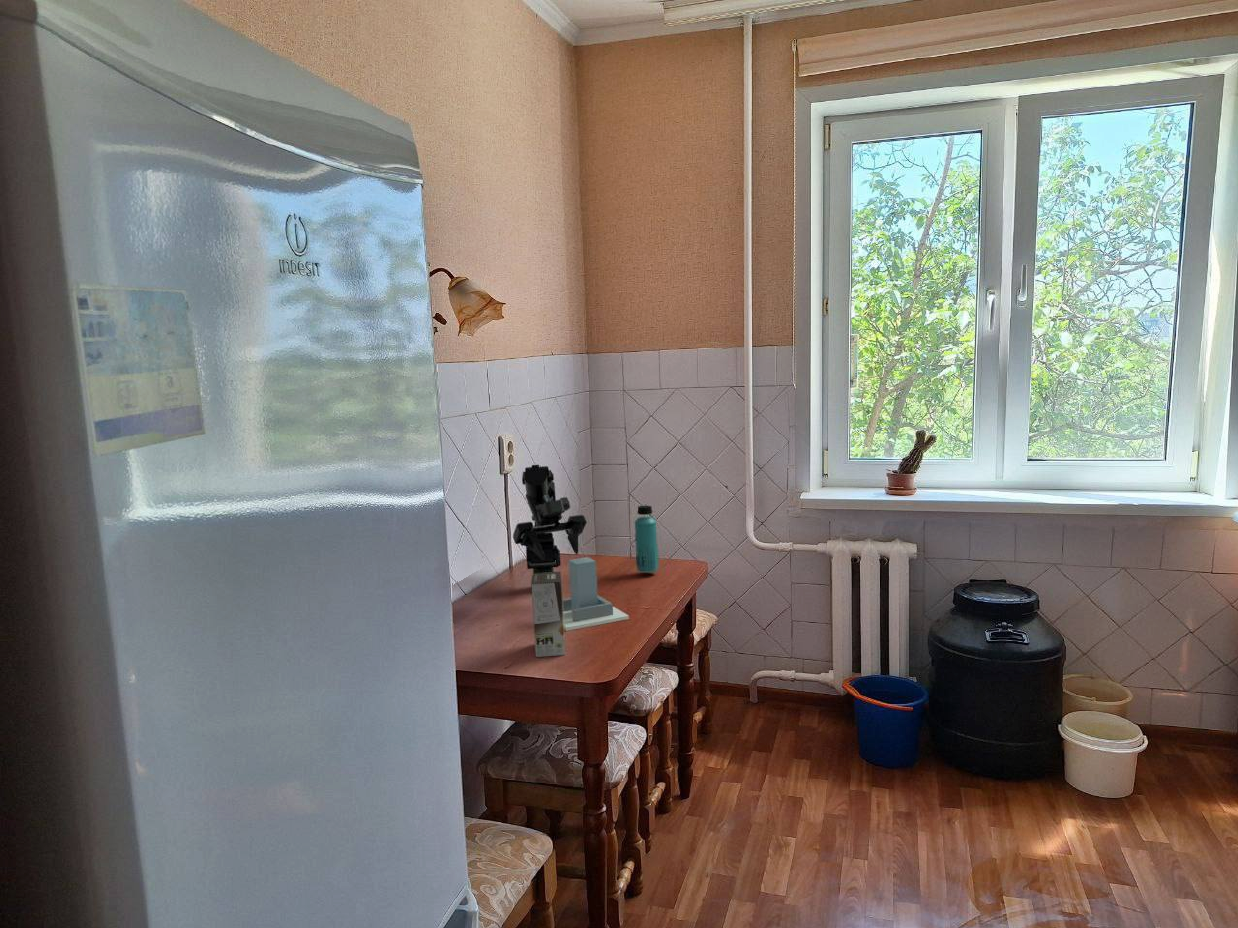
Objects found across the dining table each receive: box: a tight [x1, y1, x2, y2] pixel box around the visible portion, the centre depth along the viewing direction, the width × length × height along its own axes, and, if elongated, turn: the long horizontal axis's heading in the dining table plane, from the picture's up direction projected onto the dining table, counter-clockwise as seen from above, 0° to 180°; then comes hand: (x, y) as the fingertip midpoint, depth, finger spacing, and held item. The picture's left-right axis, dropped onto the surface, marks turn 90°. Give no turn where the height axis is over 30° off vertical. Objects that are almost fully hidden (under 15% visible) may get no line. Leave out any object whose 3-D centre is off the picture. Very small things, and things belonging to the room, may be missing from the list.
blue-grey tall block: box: [568, 556, 598, 610], centre depth 200 cm, size 5×5×13 cm
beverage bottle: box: [634, 505, 660, 573], centre depth 235 cm, size 6×7×20 cm
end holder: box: [562, 595, 630, 632], centre depth 201 cm, size 16×16×4 cm
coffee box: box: [530, 571, 565, 658], centre depth 178 cm, size 9×6×16 cm
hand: (560, 555), depth 208 cm, fingers open, 9 cm apart
